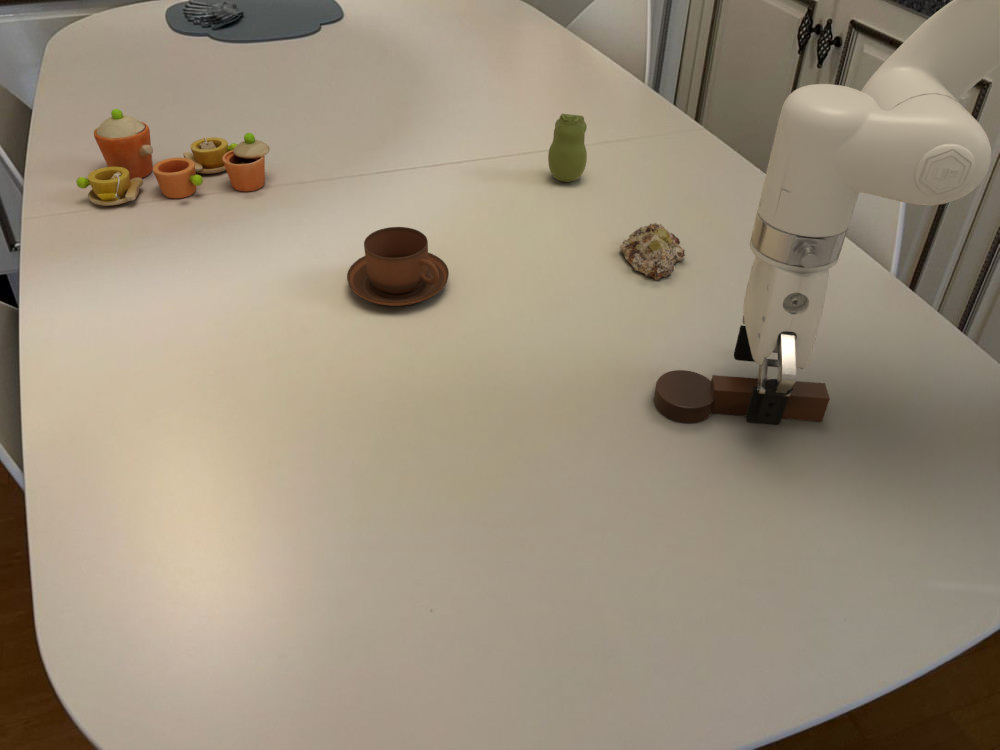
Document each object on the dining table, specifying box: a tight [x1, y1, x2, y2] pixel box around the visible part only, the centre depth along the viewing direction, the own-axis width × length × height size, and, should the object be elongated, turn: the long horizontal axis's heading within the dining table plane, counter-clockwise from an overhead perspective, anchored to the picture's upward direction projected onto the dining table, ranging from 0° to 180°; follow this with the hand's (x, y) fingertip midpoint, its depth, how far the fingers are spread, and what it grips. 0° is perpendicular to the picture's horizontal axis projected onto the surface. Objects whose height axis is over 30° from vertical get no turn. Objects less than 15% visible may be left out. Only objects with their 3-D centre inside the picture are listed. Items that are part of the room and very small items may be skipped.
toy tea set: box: [76, 108, 271, 207], centre depth 121 cm, size 26×16×10 cm, turn 103°
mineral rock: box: [619, 222, 686, 281], centre depth 108 cm, size 11×4×8 cm
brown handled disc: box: [652, 369, 831, 424], centre depth 85 cm, size 16×6×3 cm, turn 84°
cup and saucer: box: [346, 226, 450, 307], centre depth 101 cm, size 12×12×6 cm
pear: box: [547, 113, 588, 183], centre depth 123 cm, size 6×5×10 cm
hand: (755, 389), depth 84 cm, fingers open, 9 cm apart
